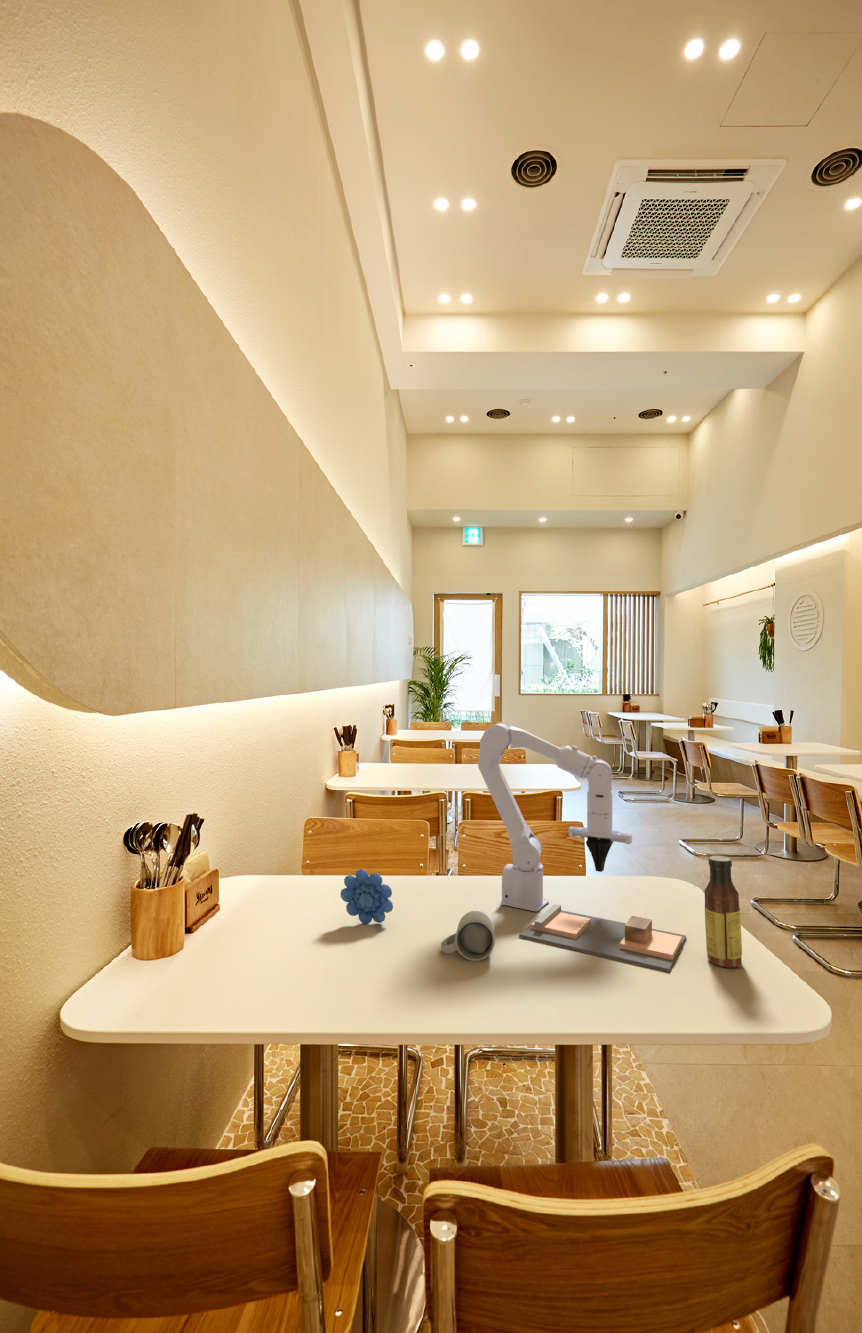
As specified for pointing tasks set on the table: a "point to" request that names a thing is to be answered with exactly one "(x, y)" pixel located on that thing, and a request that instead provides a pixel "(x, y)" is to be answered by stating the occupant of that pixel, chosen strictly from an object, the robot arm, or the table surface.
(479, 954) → the ceramic mug
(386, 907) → the blue flower rosette
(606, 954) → the mat
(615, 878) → the table surface
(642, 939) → the peach square slab
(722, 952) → the sauce bottle
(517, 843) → the robot arm
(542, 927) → the ticket
